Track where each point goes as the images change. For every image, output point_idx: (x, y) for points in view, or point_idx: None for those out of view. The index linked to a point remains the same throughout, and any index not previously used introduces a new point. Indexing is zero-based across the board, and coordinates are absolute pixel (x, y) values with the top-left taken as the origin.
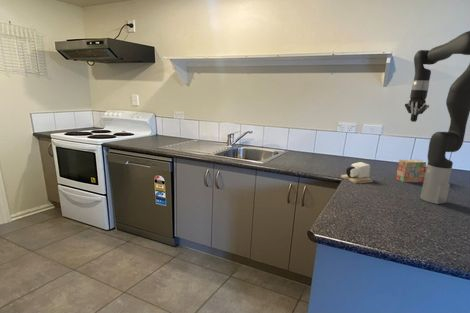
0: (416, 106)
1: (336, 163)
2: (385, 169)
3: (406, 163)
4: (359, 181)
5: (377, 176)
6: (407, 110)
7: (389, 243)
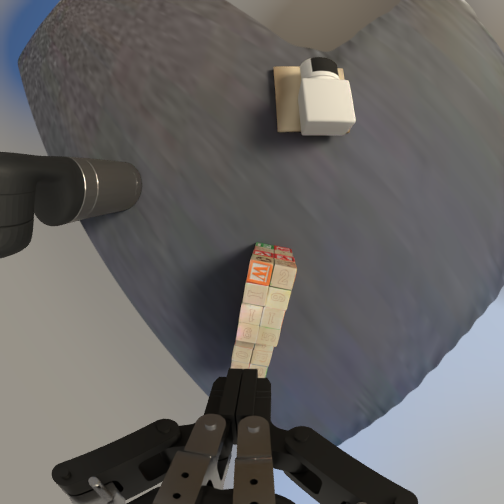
0: (168, 495)
1: (469, 184)
2: (380, 305)
3: (251, 258)
4: (274, 78)
5: (326, 202)
6: (335, 448)
7: (62, 9)
